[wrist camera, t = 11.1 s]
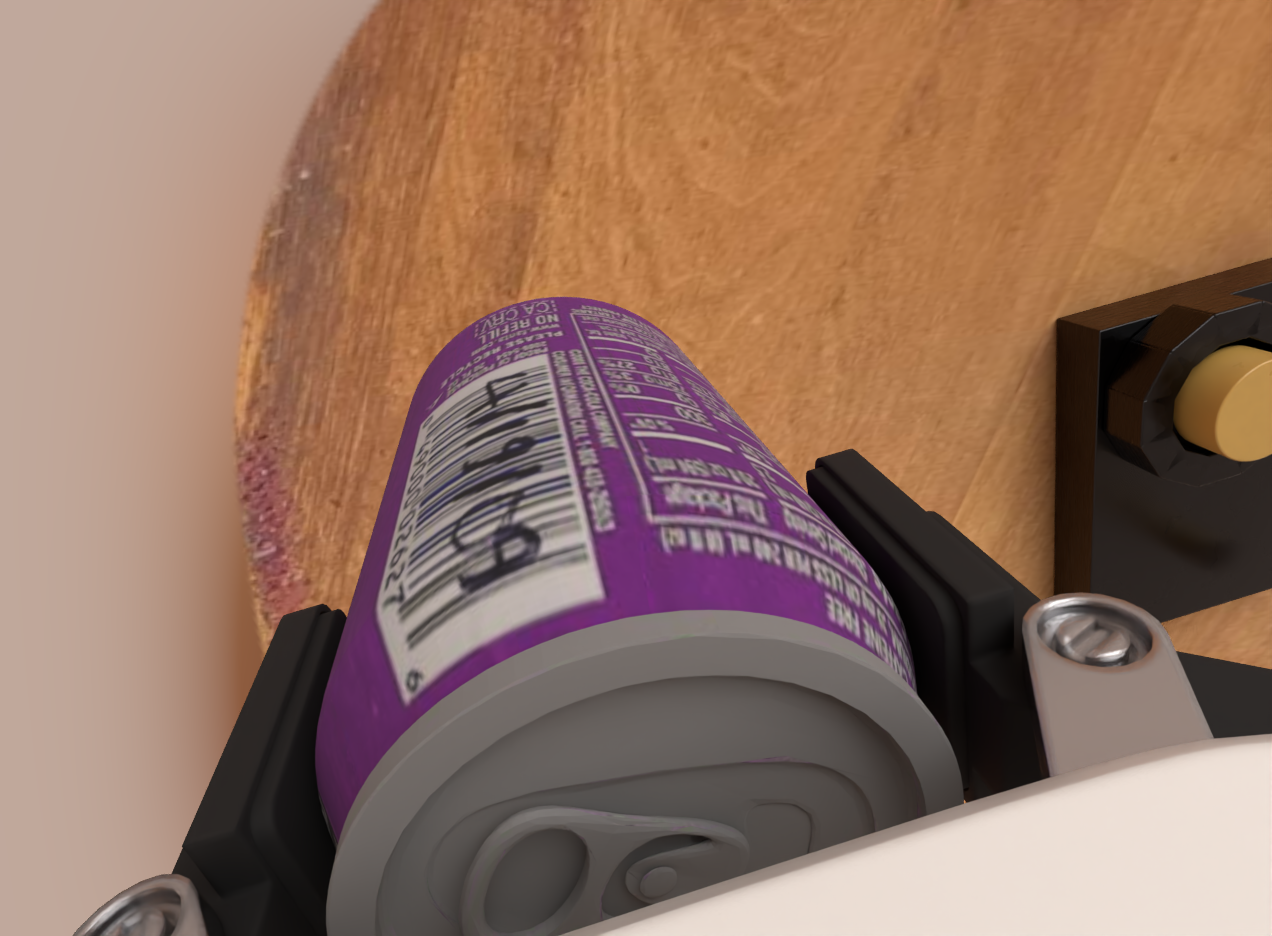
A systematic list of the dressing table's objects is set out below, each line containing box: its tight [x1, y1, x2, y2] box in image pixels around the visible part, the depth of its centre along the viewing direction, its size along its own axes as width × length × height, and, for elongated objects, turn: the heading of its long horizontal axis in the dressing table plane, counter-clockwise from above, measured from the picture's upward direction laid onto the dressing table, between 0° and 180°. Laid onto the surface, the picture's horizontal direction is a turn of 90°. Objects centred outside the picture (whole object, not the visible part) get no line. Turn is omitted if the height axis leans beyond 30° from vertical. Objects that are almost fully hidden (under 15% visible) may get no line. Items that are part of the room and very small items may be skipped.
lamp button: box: [1173, 345, 1272, 462], centre depth 25 cm, size 4×4×2 cm
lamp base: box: [1054, 258, 1272, 623], centre depth 29 cm, size 14×11×4 cm
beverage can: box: [315, 297, 964, 936], centre depth 12 cm, size 7×7×12 cm
